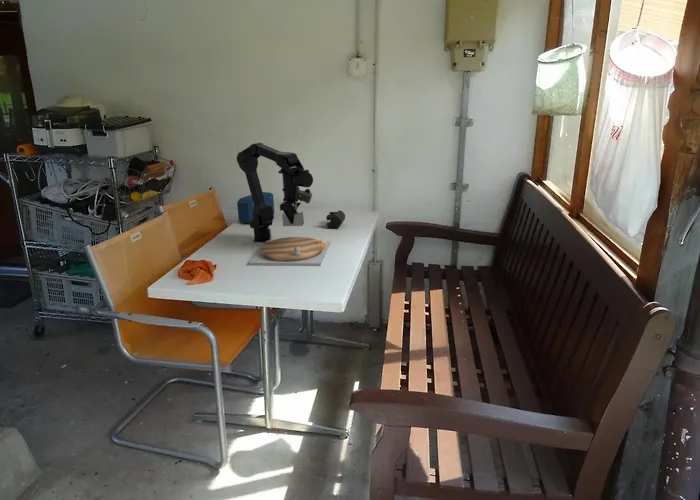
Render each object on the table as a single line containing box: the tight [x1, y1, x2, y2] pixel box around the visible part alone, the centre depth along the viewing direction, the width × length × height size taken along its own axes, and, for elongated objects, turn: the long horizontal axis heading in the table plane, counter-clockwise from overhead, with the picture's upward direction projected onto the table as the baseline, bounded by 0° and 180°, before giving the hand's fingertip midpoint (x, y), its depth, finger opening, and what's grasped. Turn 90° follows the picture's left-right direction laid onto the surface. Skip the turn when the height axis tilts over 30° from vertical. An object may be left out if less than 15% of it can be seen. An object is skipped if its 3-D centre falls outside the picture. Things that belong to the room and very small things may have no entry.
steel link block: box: [281, 210, 305, 227], centre depth 223 cm, size 8×4×5 cm, turn 86°
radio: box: [236, 178, 275, 225], centre depth 271 cm, size 21×9×20 cm, turn 152°
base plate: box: [248, 240, 332, 267], centre depth 220 cm, size 28×28×4 cm
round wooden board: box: [259, 236, 323, 261], centre depth 220 cm, size 25×25×5 cm
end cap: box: [325, 209, 346, 230], centre depth 256 cm, size 10×7×7 cm
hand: (292, 222), depth 224 cm, fingers closed on steel link block, 4 cm apart
